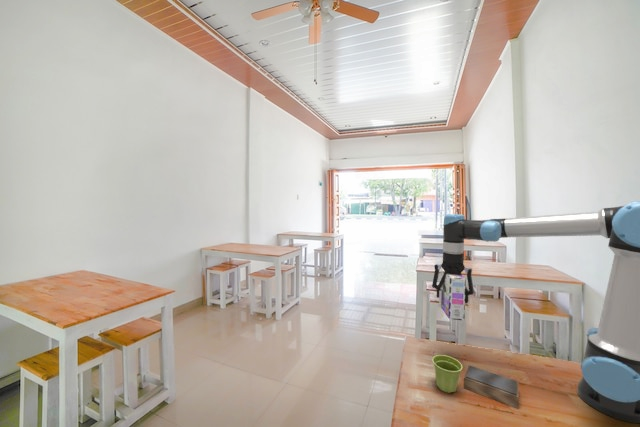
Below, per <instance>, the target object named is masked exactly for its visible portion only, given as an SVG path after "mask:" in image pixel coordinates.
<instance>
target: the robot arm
mask: <svg viewBox="0 0 640 427" xmlns="http://www.w3.org/2000/svg"><path fill="white" fill-rule="evenodd" d="M442 226H443V237H442V238H443V239H442V240H443V242H442V251H443V252H442V263H441V264H439V263H436V264H434V275H433V279H432V285H431V287H432V289H435V290H436V297H437V298H438V300H439V301H438V306H439V307H440V308H441V306H442V303H443V289H441V287H442V285H443V283H444V280H445V277H446V274H456V275H459V276H460V275H461V276H463V275H462V272H463V271H464V272H465V274H466V278H467V286H468V288H467V286H466V287H465V304H468V302H469V296H470V295H471V296H473V295H474V293H475V292H474V291H475V290H474V284H473V283H474V282H473V277H472V274H473V269H472V267H469V268H468V267H465V263H464V259H465V258H464V252H465V240H473V241H474V240H475V241H483V242H484V241H485V242H495V243H496V242H498V241H499V240H500V239H504V238H505V239H507V238H536V237H538V238H541V237H542V238H543V237H582V236H583V237H584V236H585V237H586V236H591V237H593V236H602V237H603V238H606V239H609V240H608V246H607V247H608V249H610V250H611V251H612V252H613V259H612V264H611V270H610V274H609V277H608V278H609V279H608V283H607V286H606V287H607V288H606V291H605V295H604V301H603V304H602V309H601V313H600V318H599V322H598V323H599V324H598V327H590V328H589V329H588V331H587V334H586V336H587V338H586V339H587V342H586V347H585V350H584V356H583V360H582V362H581V364H580V370H581V374H582V377H581V379H580V381H579V382H578V385H577V394H578V397H579V398H580V399H581V400H582V401H583V402H585V403H586V404H587V405H588V406H590V407H591V408H593V409H595V410H597V412H601V413H603V414H604V415H606V416H610V417H611V418H614V419H617V420H620V421H623V422H628V423H633V424H640V201H635V202H630V203H628V204H626V205H625V204H624V205H622V206H620V205H619V206H615V207H604V208H601V209H600V210H598V211H592V212H580V213H579V212H578V213H563V214H550V215H548V214H547V215H537V216H535V215H533V216H520V217H508V218H491V219H484V220H482V219H481V220H478V219H477V220H476V219H475V220H474V219H466V218H465V215H464V214H459V213H457V214H455V213H454V214H452V213H451V214H449V213H448V214H445V215H444V217H443V225H442ZM441 268H442V269H441ZM440 270H444V271H445V273H444V275H443V277H442V279H441V278H440V281H439V282H438V280H439V274H440Z"/></svg>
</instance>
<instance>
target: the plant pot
mask: <svg viewBox="0 0 640 427" xmlns="http://www.w3.org/2000/svg"><path fill="white" fill-rule="evenodd" d="M431 361H432V363H433V367H434V372H435V380H436V386H437V387H438V388H439V390H440V391H442V392H445V393H447V394H450V393H455V392H456V391H457V389H458V388H457V387H458V381H459V377H460V374H461V371H463V364H462V363H461V361H459V360H458V359H456V358H454V357H453V356H449V355H445V354H437V355H434V356H433V357H432V360H431Z"/></svg>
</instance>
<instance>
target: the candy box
mask: <svg viewBox="0 0 640 427" xmlns="http://www.w3.org/2000/svg"><path fill="white" fill-rule="evenodd" d="M440 270H441V276H440V280H441V279H442V277H443V275H444V273H445V271H444V269H440ZM466 281H467V280H466V277H464V276H463V275H462V276H461V275H460V276H459V275H456V274H446V277H445V280H444V283H443V285H442V287H441V289H443V303H442V306H441V307H440V308H441V309H442V311H443V313H445V315H446V317H447V318H448V319H449V320H456V321H457V320H458V321H465V312H466V303H465V287H467V284H466V283H467V282H466Z"/></svg>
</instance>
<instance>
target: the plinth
mask: <svg viewBox="0 0 640 427" xmlns="http://www.w3.org/2000/svg"><path fill="white" fill-rule="evenodd" d="M466 367H467V368H466V370H465V374H464V377H463V389H466V390H468V391H471V392H473V393H475V394H479V395H480V396H484V397H487V398H488V399H489V398H490V399H492V400H495V401H497V402H499V403H503V404H504V405H508V406H510V407H513V408H516V409H519V395H520V394H519V392H520V391H519V390H520V388H519V385H520V383H519V381H518V380H516V379H512V378H510V377H506V376H502V375H500V374H497V373H494V372H491V371H488V370H485V369H483V368H482V369H481V368H478V367H476V366H473V365H467V366H466Z"/></svg>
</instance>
